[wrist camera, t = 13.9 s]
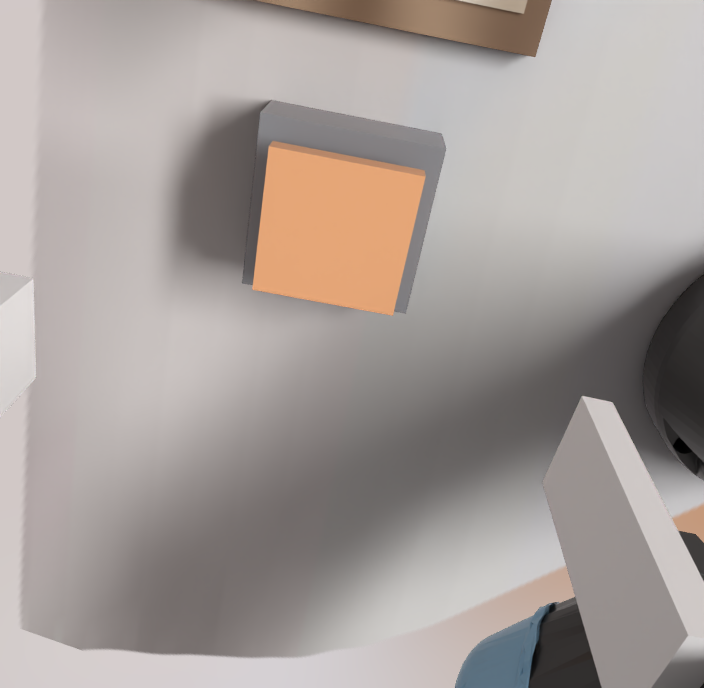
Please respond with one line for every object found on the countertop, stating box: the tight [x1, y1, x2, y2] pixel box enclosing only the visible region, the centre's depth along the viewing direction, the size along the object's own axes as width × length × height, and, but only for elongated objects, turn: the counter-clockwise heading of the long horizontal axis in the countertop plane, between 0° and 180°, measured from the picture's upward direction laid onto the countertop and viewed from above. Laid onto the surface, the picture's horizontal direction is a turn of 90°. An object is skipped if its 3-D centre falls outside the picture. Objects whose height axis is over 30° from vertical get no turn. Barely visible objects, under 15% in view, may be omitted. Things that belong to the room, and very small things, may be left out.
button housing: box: [242, 100, 446, 314], centre depth 31 cm, size 8×8×3 cm
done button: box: [252, 141, 426, 316], centre depth 30 cm, size 6×6×4 cm
